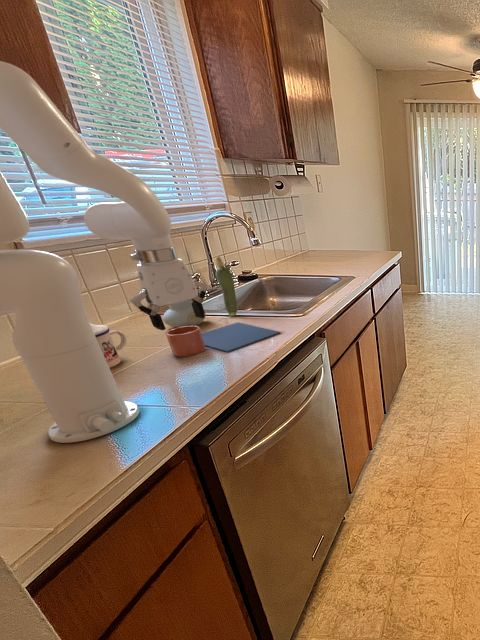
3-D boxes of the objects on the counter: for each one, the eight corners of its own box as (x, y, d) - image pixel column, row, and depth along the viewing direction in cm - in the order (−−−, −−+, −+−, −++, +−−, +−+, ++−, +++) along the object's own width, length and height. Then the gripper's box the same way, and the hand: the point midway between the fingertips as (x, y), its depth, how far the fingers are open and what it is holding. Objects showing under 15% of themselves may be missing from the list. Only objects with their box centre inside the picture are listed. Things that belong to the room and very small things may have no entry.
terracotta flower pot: (211, 348, 107) (205, 327, 105) (183, 358, 101) (175, 336, 99) (196, 344, 110) (189, 324, 108) (167, 353, 105) (159, 332, 102)
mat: (280, 333, 118) (280, 331, 118) (227, 352, 105) (227, 351, 105) (237, 323, 126) (237, 322, 126) (184, 340, 113) (184, 339, 113)
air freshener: (185, 331, 120) (174, 299, 116) (161, 330, 121) (149, 298, 117) (212, 320, 130) (203, 290, 125) (190, 319, 131) (180, 289, 127)
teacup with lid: (88, 376, 93) (65, 329, 88) (65, 371, 96) (42, 325, 91) (143, 357, 103) (126, 313, 98) (121, 352, 106) (103, 310, 101)
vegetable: (229, 314, 135) (212, 254, 127) (243, 312, 137) (227, 253, 128) (226, 318, 132) (208, 256, 123) (241, 316, 133) (224, 255, 124)
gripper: (123, 264, 87) (151, 336, 95) (203, 251, 101) (222, 315, 108) (106, 261, 90) (135, 331, 98) (186, 248, 104) (206, 311, 112)
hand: (181, 322), depth 103 cm, fingers open, 9 cm apart
